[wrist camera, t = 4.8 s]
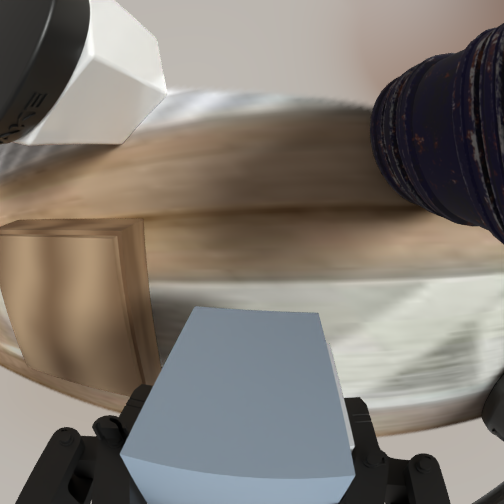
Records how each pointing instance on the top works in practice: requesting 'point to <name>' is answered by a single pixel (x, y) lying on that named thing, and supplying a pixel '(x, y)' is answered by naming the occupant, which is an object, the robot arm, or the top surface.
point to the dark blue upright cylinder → (447, 134)
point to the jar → (75, 72)
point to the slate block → (243, 415)
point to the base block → (81, 300)
